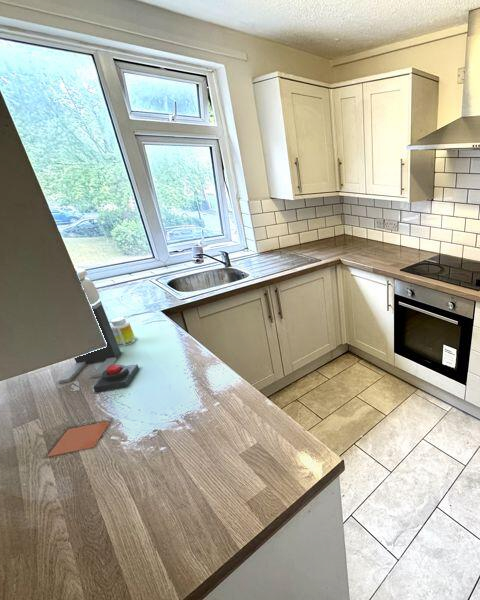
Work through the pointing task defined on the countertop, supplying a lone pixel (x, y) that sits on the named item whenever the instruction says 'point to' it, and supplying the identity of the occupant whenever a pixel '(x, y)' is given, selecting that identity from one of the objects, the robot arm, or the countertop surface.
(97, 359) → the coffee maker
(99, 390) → the power switch
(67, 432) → the coaster
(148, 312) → the countertop surface
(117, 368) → the power button
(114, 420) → the countertop surface
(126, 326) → the supplement bottle
